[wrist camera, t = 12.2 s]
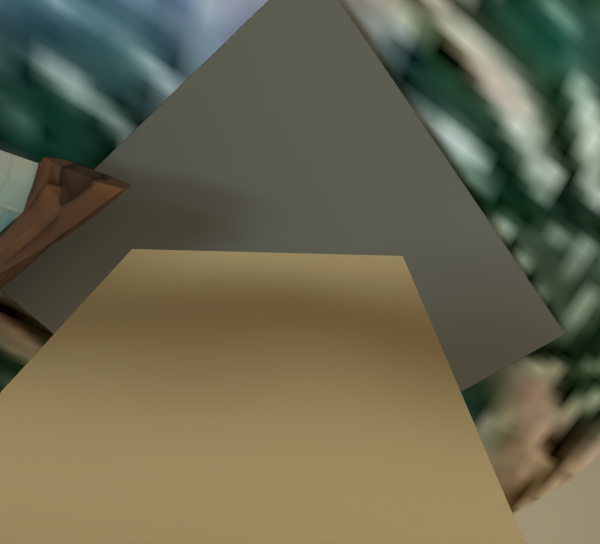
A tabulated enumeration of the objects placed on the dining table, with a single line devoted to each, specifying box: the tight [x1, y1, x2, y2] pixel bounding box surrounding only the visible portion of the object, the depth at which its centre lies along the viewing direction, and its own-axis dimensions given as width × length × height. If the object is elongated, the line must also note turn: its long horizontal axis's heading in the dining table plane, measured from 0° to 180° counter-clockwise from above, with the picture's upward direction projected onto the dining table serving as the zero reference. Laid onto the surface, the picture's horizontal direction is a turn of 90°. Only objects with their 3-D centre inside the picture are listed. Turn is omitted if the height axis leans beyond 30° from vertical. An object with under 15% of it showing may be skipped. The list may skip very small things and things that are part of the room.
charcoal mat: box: [0, 0, 565, 392], centre depth 18 cm, size 16×16×1 cm
